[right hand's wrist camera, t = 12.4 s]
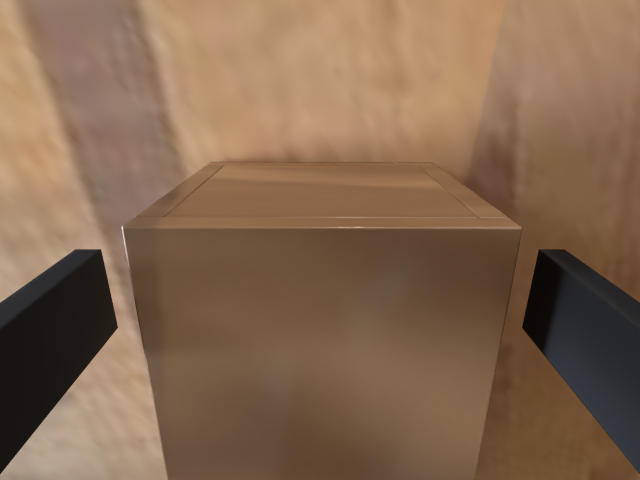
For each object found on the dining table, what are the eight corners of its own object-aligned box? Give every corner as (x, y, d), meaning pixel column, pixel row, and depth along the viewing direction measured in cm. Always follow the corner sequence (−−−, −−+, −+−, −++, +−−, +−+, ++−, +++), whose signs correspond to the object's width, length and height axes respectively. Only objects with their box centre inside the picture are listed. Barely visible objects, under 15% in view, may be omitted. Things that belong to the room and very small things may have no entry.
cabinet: (403, 456, 25) (444, 642, 17) (237, 455, 25) (196, 641, 17) (433, 162, 18) (524, 227, 10) (209, 161, 18) (119, 226, 10)
